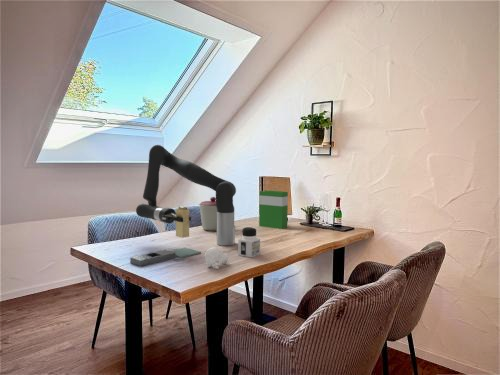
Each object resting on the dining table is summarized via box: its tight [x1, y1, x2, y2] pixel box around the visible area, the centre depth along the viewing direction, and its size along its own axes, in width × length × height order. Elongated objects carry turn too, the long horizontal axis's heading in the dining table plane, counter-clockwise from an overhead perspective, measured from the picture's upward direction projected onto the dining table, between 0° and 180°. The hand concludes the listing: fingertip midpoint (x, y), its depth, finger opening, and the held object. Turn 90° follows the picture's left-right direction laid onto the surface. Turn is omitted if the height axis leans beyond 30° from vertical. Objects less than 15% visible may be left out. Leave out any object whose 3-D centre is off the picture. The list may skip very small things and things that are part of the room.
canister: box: [198, 196, 217, 232], centre depth 232 cm, size 18×18×21 cm
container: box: [237, 226, 261, 258], centre depth 171 cm, size 8×8×13 cm
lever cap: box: [175, 206, 190, 239], centre depth 171 cm, size 4×5×14 cm
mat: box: [170, 247, 202, 259], centre depth 173 cm, size 12×12×1 cm
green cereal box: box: [258, 189, 289, 230], centre depth 243 cm, size 18×7×24 cm, turn 56°
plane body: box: [129, 249, 176, 267], centre depth 160 cm, size 18×8×2 cm, turn 139°
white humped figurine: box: [204, 246, 230, 270], centre depth 153 cm, size 6×8×12 cm
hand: (186, 219), depth 169 cm, fingers closed on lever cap, 4 cm apart
